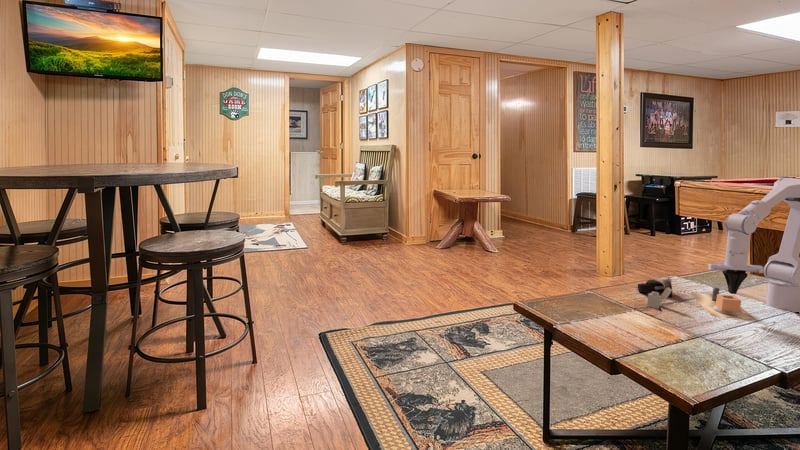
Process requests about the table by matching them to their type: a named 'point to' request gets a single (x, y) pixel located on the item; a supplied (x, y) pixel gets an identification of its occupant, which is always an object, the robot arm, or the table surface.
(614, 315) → the table surface
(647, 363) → the table surface
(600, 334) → the table surface
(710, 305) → the board
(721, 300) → the collar
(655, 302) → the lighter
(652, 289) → the caster wheel
